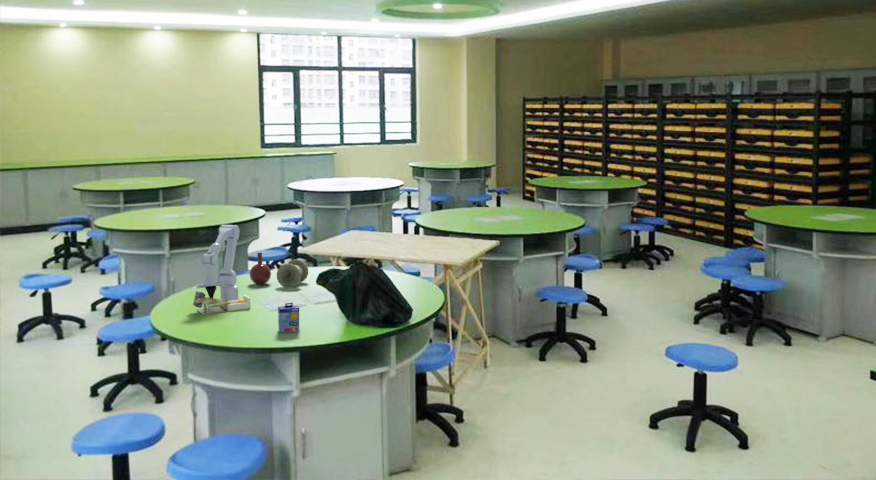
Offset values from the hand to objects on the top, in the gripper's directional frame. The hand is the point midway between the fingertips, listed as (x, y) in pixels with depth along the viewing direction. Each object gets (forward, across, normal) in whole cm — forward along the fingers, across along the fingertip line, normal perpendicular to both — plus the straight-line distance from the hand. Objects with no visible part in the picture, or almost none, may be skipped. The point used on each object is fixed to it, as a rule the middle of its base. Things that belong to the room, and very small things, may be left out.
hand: (211, 299), depth 416 cm
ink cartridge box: (+5, +21, -65) cm, 69 cm away
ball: (+2, +15, -6) cm, 17 cm away
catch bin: (+5, +12, -6) cm, 15 cm away
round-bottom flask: (+5, +43, +48) cm, 64 cm away
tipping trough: (+3, -2, -4) cm, 5 cm away
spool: (+5, +60, +36) cm, 70 cm away
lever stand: (+5, -2, -7) cm, 8 cm away
